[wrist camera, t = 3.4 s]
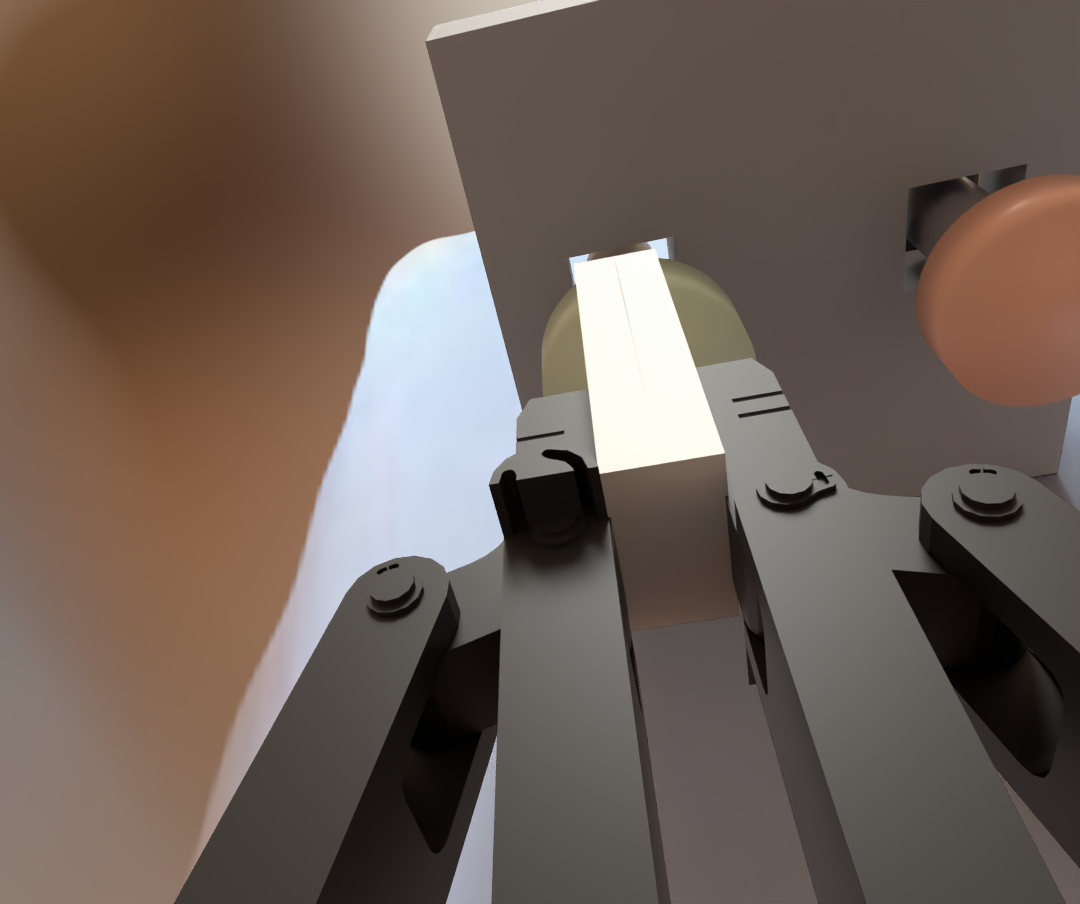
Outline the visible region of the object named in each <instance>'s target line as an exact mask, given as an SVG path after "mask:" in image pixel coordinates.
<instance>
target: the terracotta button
mask: <svg viewBox="0 0 1080 904" xmlns="http://www.w3.org/2000/svg"><path fill="white" fill-rule="evenodd" d="M906 239H907V240H909V241H910V242H911V243H912V244H913V245H914V246H915V247H916V248H917V249H918V250H919V251H920V252H921V253H922V254H923V255H924V256H925V257H926V258H927V261H926V263H925V265H924V268H923V270H922V272H921V275H920V278H919V282H918V286H917V291H916V299H915V313H916V318H917V324H918V327H919V329H920V332H921V335H922V336H923V338H924V340H925V342H926V343H927V345H928V346H929V347H930V348H931V349H932V351H933V352H934V353H935V354H936V355H937V356H938V358H939V359H940V360H941V361H942V362H943V363H944V365H945V366H946V367H947V368H948V369H949V371H950V372H951V373H952V374H953V375H954V376H955V378H956V379H957V380H958V381H959V382H960V383H961V385H962V386H964V387H965V388H966V389H967V390H968V391H970V392H971V393H973V394H974V395H976V396H978V397H980V398H982V399H984V400H987V401H989V402H992V403H997V404H1001V405H1007V406H1036V405H1044V404H1049V403H1053V402H1058V401H1061V400H1064V399H1067V398H1070V397H1074V396H1076V395H1078V394H1080V176H1077V175H1069V174H1052V175H1045V176H1038V177H1034V178H1030V179H1026V180H1022V181H1019V182H1017V183H1014V184H1012V185H1009V186H1006V187H1004V188H1002V189H1000V190H998V191H996V192H994V193H992V194H989V193H988V192H986V191H985V190H983V189H982V188H981V187H979V186H978V185H976V184H975V183H973V182H972V181H970V180H969V179H968V178H966V177H961V178H956V179H951V180H946V181H941V182H937V183H932V184H927V185H922V186H917V187H912V188H908V207H907V229H906Z"/></svg>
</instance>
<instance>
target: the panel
mask: <svg viewBox="0 0 1080 904" xmlns="http://www.w3.org/2000/svg"><path fill="white" fill-rule="evenodd" d="M425 42H426V46H427V50H428V54H429V57H430V61H431V64H432V69H433V72H434V76H435V80H436V84H437V88H438V91H439V95H440V99H441V103H442V107H443V111H444V114H445V118H446V122H447V126H448V130H449V133H450V137H451V141H452V145H453V149H454V152H455V156H456V160H457V164H458V168H459V171H460V175H461V179H462V183H463V186H464V191H465V194H466V198H467V202H468V206H469V210H470V213H471V217H472V221H473V225H474V229H475V232H476V236H477V240H478V244H479V248H480V251H481V255H482V259H483V263H484V267H485V270H486V274H487V278H488V282H489V286H490V289H491V293H492V297H493V301H494V305H495V308H496V312H497V316H498V320H499V324H500V327H501V331H502V335H503V339H504V343H505V346H506V350H507V354H508V358H509V362H510V365H511V369H512V373H513V377H514V381H515V385H516V388H517V392H518V396H519V400H520V404H521V407H522V410H523V409H524V407H525V406H526V404H527V403H528V401H529V400H530V399H535V398H540V397H543V386H542V342H543V336H544V333H545V329H546V326H547V323H548V321H549V319H550V317H551V314H552V313H553V311H554V309H555V308H556V306H557V305H558V303H559V302H560V301H561V299H562V298H563V297H564V296H565V294H566V293H567V292H568V291H569V290H570V289H571V288H573V287H574V286H575V285H574V280H573V275H572V270H571V265H570V260H569V258H570V257H575V256H580V255H585V254H590V253H595V252H600V251H604V250H609V249H614V248H619V247H624V246H629V245H634V244H639V243H644V242H648V241H653V240H658V239H663V238H667V246H668V254H669V260H673V261H678V262H682V263H684V264H687V265H689V266H692V267H694V268H696V269H698V270H700V271H701V272H703V273H705V274H706V275H708V276H709V277H710V278H712V279H713V280H714V281H715V282H716V283H717V284H718V285H719V286H720V287H721V288H722V289H723V290H724V291H725V292H726V294H727V295H728V297H729V298H730V299H731V301H732V303H733V305H734V307H735V309H736V311H737V313H738V315H739V317H740V320H741V322H742V324H743V326H744V328H745V330H746V332H747V334H748V336H749V338H750V340H751V343H752V345H753V349H754V352H755V355H756V361H757V362H758V363H760V364H761V365H763V366H765V367H766V368H768V369H769V370H771V371H772V372H773V373H774V375H775V377H776V379H777V381H778V383H779V385H780V387H781V389H782V393H783V394H784V395H785V397H786V399H787V401H788V403H789V405H790V410H791V409H792V411H793V413H794V415H795V417H796V419H797V421H798V423H799V425H800V427H801V429H802V431H803V433H804V435H805V437H806V439H807V441H808V443H809V445H810V447H811V449H812V451H813V453H814V455H815V457H816V459H817V461H818V462H819V463H821V464H823V465H826V466H828V467H830V468H832V469H834V470H835V471H836V472H837V473H838V474H839V475H840V477H841V478H842V479H843V480H844V481H845V482H846V484H847V486H848V488H850V489H854V490H858V491H861V492H865V493H870V494H878V495H887V496H905V497H914V496H920V495H921V489H922V488H923V486H924V485H925V483H926V482H927V481H928V479H929V478H930V477H931V476H933V475H935V474H937V473H939V472H941V471H943V470H944V469H946V468H950V467H956V466H961V465H966V464H984V465H997V466H1001V467H1005V468H1009V469H1013V470H1017V471H1020V472H1022V473H1023V474H1025V475H1027V476H1029V477H1035V476H1041V475H1047V474H1053V473H1058V469H1059V463H1060V458H1061V452H1062V447H1063V442H1064V436H1065V431H1066V426H1067V420H1068V415H1069V410H1070V404H1071V399H1072V397H1070V398H1067V399H1064V400H1061V401H1058V402H1053V403H1049V404H1044V405H1036V406H1007V405H1001V404H997V403H992V402H989V401H987V400H984V399H982V398H980V397H978V396H976V395H974V394H973V393H971V392H970V391H968V390H967V389H966V388H965V387H964V386H962V385H961V383H960V382H959V381H958V380H957V379H956V378H955V376H954V375H953V374H952V373H951V372H950V371H949V369H948V368H947V367H946V366H945V365H944V363H943V362H942V361H941V360H940V359H939V358H938V356H937V355H936V354H935V353H934V352H933V351H932V349H931V348H930V347H929V346H928V345H927V343H926V342H925V340H924V338H923V336H922V335H921V332H920V329H919V327H918V324H917V318H916V313H915V299H916V291H917V286H918V282H919V278H920V275H921V272H922V270H923V268H924V265H925V263H926V261H927V258H926V257H925V256H924V255H923V254H922V253H921V252H920V251H919V250H913V251H908V252H905V251H906V229H907V207H908V188H912V187H917V186H922V185H927V184H932V183H937V182H941V181H946V180H951V179H956V178H961V177H966V176H971V175H976V174H980V182H979V187H981V188H982V189H983V190H985V191H986V192H988V193H989V194H992V193H994V192H996V191H998V190H1000V189H1002V188H1004V187H1006V186H1009V185H1012V184H1014V183H1017V182H1019V181H1022V180H1026V179H1030V178H1034V177H1038V176H1045V175H1052V174H1069V175H1077V176H1080V0H540V1H535V2H531V3H527V4H523V5H519V6H515V7H510V8H506V9H502V10H498V11H494V12H490V13H485V14H481V15H477V16H473V17H469V18H465V19H461V20H456V21H452V22H448V23H444V24H440V25H435V26H434V28H433V30H432V31H431V33H430V35H429V36H428V38H427V40H426V41H425Z"/></svg>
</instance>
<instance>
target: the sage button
mask: <svg viewBox="0 0 1080 904" xmlns="http://www.w3.org/2000/svg"><path fill="white" fill-rule="evenodd" d="M650 249H652V248H651V247H650V245H649V244H648V243H647V242H644V243H639V244H634V245H629V246H624V247H619V248H614V249H609V250H604V251H600V252H595V253H590V254H589V256H588V259H587V261H592V260H598V259H603V258H608V257H613V256H618V255H624V254H629V253H634V252H639V251H644V250H650ZM658 260H659V263H660V266H661V269H662V271H663V274H664V277H665V280H666V283H667V286H668V289H669V292H670V295H671V298H672V300H673V303H674V306H675V309H676V312H677V315H678V318H679V321H680V324H681V327H682V330H683V332H684V335H685V338H686V341H687V344H688V347H689V350H690V353H691V356H692V359H693V361H694V364H695V367H696V368H697V367H703V366H708V365H714V364H720V363H725V362H731V361H737V360H742V359H748V358H752V359H754V360H755V361H756V355H755V352H754V349H753V345H752V343H751V340H750V338H749V336H748V334H747V332H746V330H745V328H744V326H743V324H742V322H741V320H740V317H739V315H738V313H737V311H736V309H735V307H734V305H733V303H732V301H731V299H730V298H729V297H728V295H727V294H726V292H725V291H724V290H723V289H722V288H721V287H720V286H719V285H718V284H717V283H716V282H715V281H714V280H713V279H712V278H710V277H709V276H708V275H706V274H705V273H703V272H701V271H700V270H698V269H696V268H694V267H692V266H689V265H687V264H684V263H682V262H678V261H673V260H669V259H661V258H658ZM542 386H543V397H546V396H552V395H557V394H563V393H569V392H574V391H580V390H586V389H588V381H587V372H586V364H585V355H584V347H583V338H582V330H581V321H580V313H579V305H578V296H577V288H576V285H575V286H574V287H573V288H571V289H570V290H569V291H568V292H567V293H566V294H565V296H564V297H563V298H562V299H561V301H560V302H559V303H558V305H557V306H556V308H555V309H554V311H553V313H552V314H551V317H550V319H549V321H548V323H547V326H546V329H545V333H544V336H543V342H542Z"/></svg>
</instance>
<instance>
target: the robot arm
mask: <svg viewBox="0 0 1080 904" xmlns="http://www.w3.org/2000/svg"><path fill="white" fill-rule="evenodd" d="M574 271H575V279H576V288H577V296H578V305H579V313H580V321H581V330H582V338H583V347H584V355H585V364H586V372H587V381H588V389H586V390H580V391H574V392H569V393H563V394H557V395H552V396H546V397H540V398H535V399H530V400H529V401H528V403H527V404H526V406H525V407H524V409H523V410H522V412H521V413H520V415H519V416H518V418H517V437H516V439H517V442H516V454H515V455H513V456H511V457H509V458H507V459H506V460H505V461H504V462H503V463H502V464H501V465H500V466H499V467H498V468H497V469H496V470H495V471H494V472H493V475H492V477H491V480H490V483H489V487H490V491H491V494H492V498H493V501H494V504H495V508H496V511H497V515H498V518H499V521H500V525H501V528H502V532H503V535H504V541H503V542H502V543H501V544H500V545H499V546H498V547H497V548H496V549H494V550H493V551H492V552H490V553H489V554H488V555H486V556H485V557H483V558H481V559H479V560H477V561H475V562H473V563H470V564H468V565H465V566H463V567H460V568H458V569H455V570H453V571H451V572H448V573H446V571H445V569H444V567H443V566H441V565H440V564H438V563H437V562H435V561H434V560H432V559H430V558H424V557H418V556H409V557H402V558H395V559H392V560H389V561H387V562H384V563H382V564H379V565H377V566H375V567H373V568H372V569H370V570H369V571H368V572H366V573H365V574H363V575H362V576H361V577H359V578H358V579H357V580H356V582H355V583H354V584H353V585H352V586H351V588H350V589H349V590H348V591H347V593H346V594H345V596H344V598H343V600H342V602H341V603H340V605H339V607H338V609H337V611H336V612H335V614H334V616H333V618H332V620H331V621H330V623H329V625H328V627H327V629H326V630H325V632H324V634H323V636H322V638H321V639H320V641H319V643H318V645H317V647H316V648H315V650H314V652H313V654H312V656H311V657H310V659H309V661H308V663H307V665H306V666H305V668H304V670H303V672H302V674H301V675H300V677H299V679H298V681H297V683H296V684H295V686H294V688H293V690H292V692H291V693H290V695H289V697H288V699H287V701H286V703H285V704H284V706H283V708H282V710H281V712H280V713H279V715H278V717H277V719H276V721H275V722H274V724H273V726H272V728H271V730H270V731H269V733H268V735H267V737H266V739H265V740H264V742H263V744H262V746H261V748H260V749H259V751H258V753H257V755H256V757H255V758H254V760H253V762H252V764H251V766H250V767H249V769H248V771H247V773H246V775H245V776H244V778H243V780H242V782H241V784H240V785H239V787H238V789H237V791H236V793H235V794H234V796H233V798H232V800H231V802H230V803H229V805H228V807H227V809H226V811H225V812H224V814H223V816H222V818H221V820H220V821H219V823H218V825H217V827H216V829H215V830H214V832H213V834H212V836H211V838H210V839H209V841H208V843H207V845H206V847H205V848H204V850H203V852H202V854H201V856H200V857H199V859H198V861H197V863H196V865H195V866H194V868H193V870H192V872H191V874H190V875H189V877H188V879H187V881H186V883H185V884H184V886H183V888H182V890H181V892H180V894H179V896H178V897H177V899H176V901H175V903H174V904H446V901H447V898H448V894H449V891H450V888H451V885H452V881H453V878H454V875H455V871H456V868H457V865H458V861H459V858H460V855H461V852H462V848H463V845H464V842H465V838H466V835H467V832H468V829H469V825H470V822H471V819H472V815H473V812H474V809H475V805H476V802H477V799H478V796H479V792H480V789H481V786H482V782H483V779H484V776H485V773H486V769H487V766H488V763H489V759H490V756H491V753H492V749H493V746H494V743H495V740H496V736H497V759H496V788H495V818H494V848H493V878H492V904H671V902H670V895H669V888H668V881H667V874H666V867H665V860H664V853H663V846H662V839H661V832H660V825H659V818H658V811H657V804H656V797H655V790H654V783H653V776H652V769H651V762H650V755H649V747H648V740H647V733H646V726H645V719H644V712H643V705H642V698H641V691H640V684H639V677H638V670H637V663H636V658H635V652H634V647H633V642H632V637H631V631H636V630H643V629H650V628H657V627H664V626H670V625H677V624H684V623H691V622H698V621H705V620H712V619H718V618H725V617H732V616H739V609H738V600H739V604H740V607H741V610H742V614H743V617H744V627H745V640H746V652H747V664H748V676H749V685H752V684H757V687H758V691H759V694H760V698H761V701H762V705H763V708H764V712H765V716H766V719H767V723H768V726H769V730H770V733H771V737H772V740H773V744H774V748H775V751H776V755H777V758H778V762H779V765H780V769H781V772H782V776H783V780H784V783H785V787H786V790H787V794H788V797H789V801H790V805H791V808H792V812H793V815H794V819H795V822H796V826H797V829H798V833H799V837H800V840H801V844H802V847H803V851H804V854H805V858H806V862H807V865H808V869H809V872H810V876H811V879H812V883H813V886H814V890H815V894H816V897H817V901H818V904H1066V903H1065V901H1064V899H1063V897H1062V895H1061V893H1060V891H1059V889H1058V888H1057V886H1056V884H1055V882H1054V880H1053V878H1052V876H1051V874H1050V872H1049V870H1048V868H1047V867H1046V865H1045V863H1044V861H1043V859H1042V857H1041V855H1040V853H1039V851H1038V849H1037V847H1036V846H1035V844H1034V842H1033V840H1032V838H1031V836H1030V834H1029V832H1028V830H1027V828H1026V826H1025V824H1024V823H1023V821H1022V819H1021V817H1020V815H1019V813H1018V811H1017V809H1016V807H1015V805H1014V803H1013V802H1012V800H1011V798H1010V796H1009V794H1008V792H1007V790H1006V788H1005V786H1004V784H1003V782H1002V781H1001V779H1000V777H999V775H998V773H997V771H998V772H999V773H1000V774H1001V775H1002V776H1003V778H1004V779H1005V780H1006V781H1007V782H1008V784H1009V785H1010V786H1011V787H1012V788H1013V790H1014V791H1015V792H1016V793H1017V794H1018V795H1019V797H1020V798H1021V799H1022V800H1023V801H1024V803H1025V804H1026V805H1027V806H1028V807H1029V809H1030V810H1031V811H1032V812H1033V813H1034V815H1035V816H1036V817H1037V818H1038V819H1039V820H1040V822H1041V823H1042V824H1043V825H1044V826H1045V828H1046V829H1047V830H1048V831H1049V832H1050V834H1051V835H1052V836H1053V837H1054V838H1055V839H1056V841H1057V842H1058V843H1059V844H1060V845H1061V847H1062V848H1063V849H1064V850H1065V851H1066V853H1067V854H1068V855H1069V856H1070V857H1071V859H1072V860H1073V861H1074V862H1075V863H1076V864H1077V866H1078V867H1079V868H1080V511H1078V510H1077V509H1076V508H1074V507H1073V506H1072V505H1070V504H1069V503H1067V502H1066V501H1065V500H1063V499H1062V498H1061V497H1059V496H1058V495H1057V494H1055V493H1054V492H1052V491H1051V490H1050V489H1048V488H1047V487H1046V486H1044V485H1043V484H1042V483H1040V482H1039V481H1037V480H1035V479H1033V478H1031V477H1029V476H1027V475H1025V474H1023V473H1022V472H1020V471H1017V470H1013V469H1009V468H1005V467H1001V466H997V465H984V464H966V465H961V466H956V467H950V468H946V469H944V470H943V471H941V472H939V473H937V474H935V475H933V476H931V477H930V478H929V479H928V481H927V482H926V483H925V485H924V486H923V488H922V489H921V497H905V496H887V495H878V494H870V493H865V492H861V491H858V490H854V489H850V488H848V486H847V484H846V482H845V481H844V480H843V479H842V478H841V477H840V475H839V474H838V473H837V472H836V471H835V470H834V469H832V468H830V467H828V466H826V465H823V464H821V463H819V462H818V461H817V459H816V457H815V455H814V453H813V451H812V449H811V447H810V445H809V443H808V441H807V439H806V437H805V435H804V433H803V431H802V429H801V427H800V425H799V423H798V421H797V419H796V417H795V415H794V413H793V411H792V409H791V410H790V405H789V403H788V401H787V399H786V397H785V395H784V394H783V393H782V389H781V387H780V385H779V383H778V381H777V379H776V377H775V375H774V373H773V372H772V371H771V370H769V369H768V368H766V367H765V366H763V365H761V364H760V363H758V362H757V361H755V360H754V359H752V358H748V359H742V360H737V361H731V362H725V363H720V364H714V365H708V366H703V367H697V368H696V367H695V364H694V361H693V359H692V356H691V353H690V350H689V347H688V344H687V341H686V338H685V335H684V332H683V330H682V327H681V324H680V321H679V318H678V315H677V312H676V309H675V306H674V303H673V300H672V298H671V295H670V292H669V289H668V286H667V283H666V280H665V277H664V274H663V271H662V269H661V266H660V263H659V260H658V257H657V254H656V251H655V249H650V250H644V251H639V252H634V253H629V254H624V255H618V256H613V257H608V258H603V259H598V260H592V261H587V262H582V263H577V264H574ZM995 768H996V769H997V771H996V769H995Z"/></svg>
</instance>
